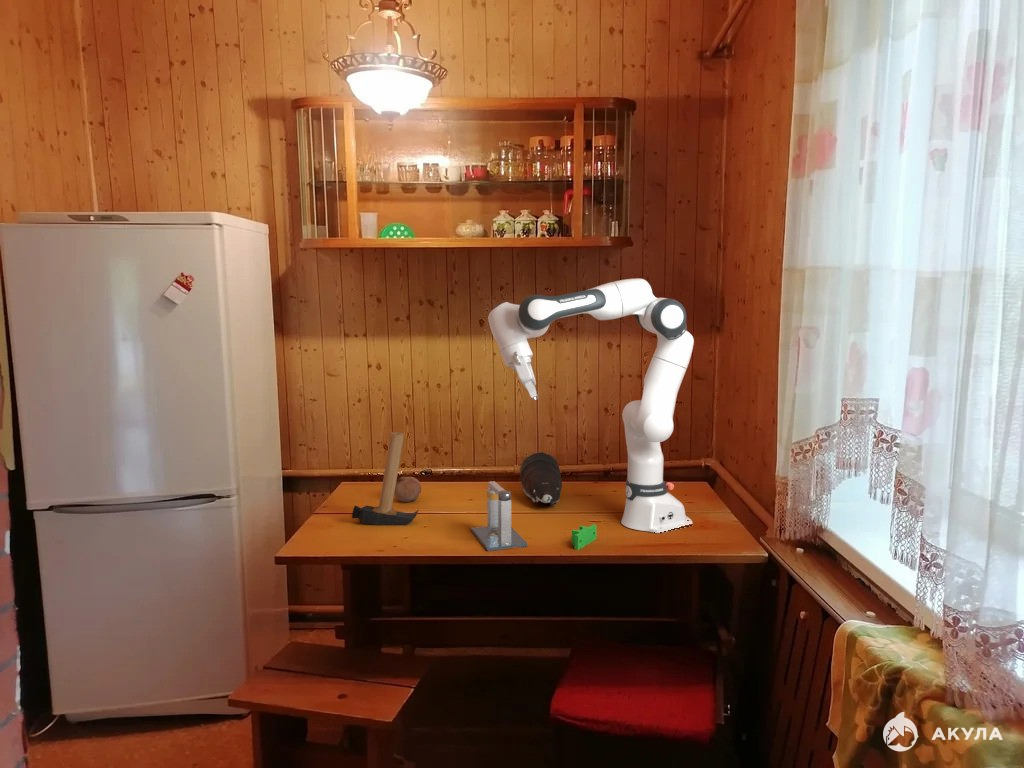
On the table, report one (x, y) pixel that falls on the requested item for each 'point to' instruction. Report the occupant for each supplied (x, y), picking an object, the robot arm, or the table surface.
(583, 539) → the pipe clamp
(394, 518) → the hammer
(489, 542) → the bolt hole plate
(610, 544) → the table surface
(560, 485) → the dark brown oval body
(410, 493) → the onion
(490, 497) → the post
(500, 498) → the grey metal upright piece
